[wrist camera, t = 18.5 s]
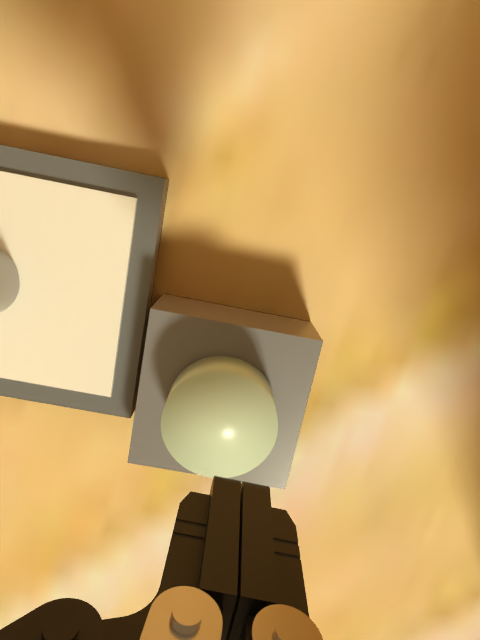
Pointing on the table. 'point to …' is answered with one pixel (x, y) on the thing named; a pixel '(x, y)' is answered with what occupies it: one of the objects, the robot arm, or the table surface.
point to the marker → (8, 281)
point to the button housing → (224, 340)
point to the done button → (220, 417)
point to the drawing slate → (77, 279)
